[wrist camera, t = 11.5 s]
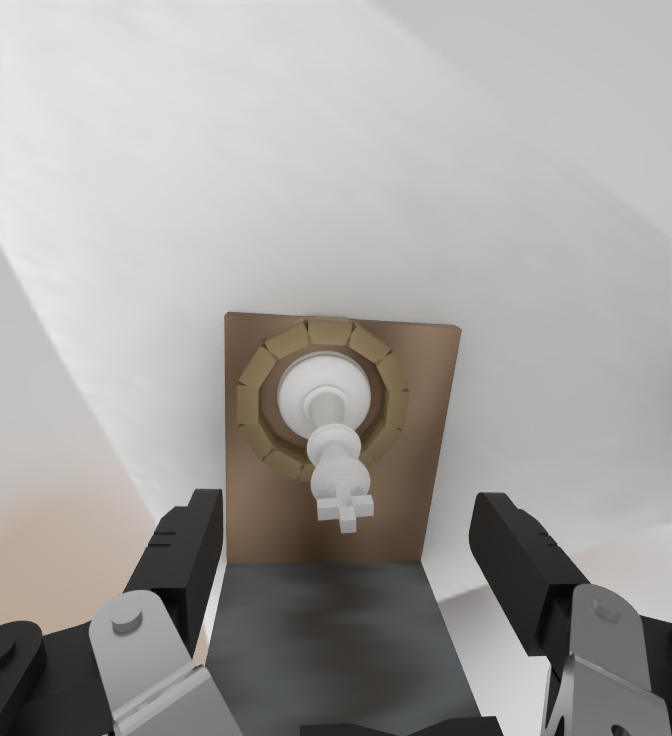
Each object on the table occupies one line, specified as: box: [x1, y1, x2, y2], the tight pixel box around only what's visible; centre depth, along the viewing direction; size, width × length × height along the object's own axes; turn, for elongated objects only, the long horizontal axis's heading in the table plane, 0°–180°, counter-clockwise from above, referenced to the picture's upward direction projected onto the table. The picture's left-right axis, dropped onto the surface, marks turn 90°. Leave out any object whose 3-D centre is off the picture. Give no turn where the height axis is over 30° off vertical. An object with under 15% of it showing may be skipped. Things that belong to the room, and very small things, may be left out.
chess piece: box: [277, 351, 374, 534], centre depth 16 cm, size 5×5×10 cm
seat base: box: [205, 312, 482, 736], centre depth 14 cm, size 12×16×18 cm
